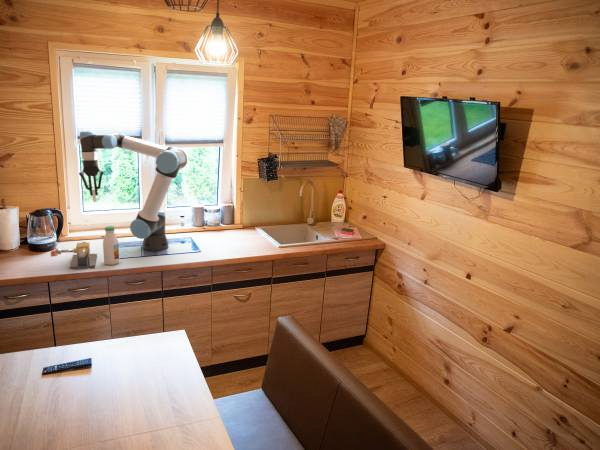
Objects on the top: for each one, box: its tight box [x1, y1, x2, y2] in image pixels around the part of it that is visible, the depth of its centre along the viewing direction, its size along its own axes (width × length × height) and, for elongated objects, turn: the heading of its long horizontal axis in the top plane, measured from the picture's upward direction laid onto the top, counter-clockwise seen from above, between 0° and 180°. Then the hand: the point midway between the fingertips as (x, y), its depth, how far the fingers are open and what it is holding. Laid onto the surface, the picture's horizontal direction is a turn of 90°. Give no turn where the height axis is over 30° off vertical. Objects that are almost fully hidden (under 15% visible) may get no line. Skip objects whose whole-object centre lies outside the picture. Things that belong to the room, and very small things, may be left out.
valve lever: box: [50, 248, 74, 258], centre depth 236 cm, size 8×3×18 cm
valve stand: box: [69, 241, 98, 270], centre depth 247 cm, size 12×19×10 cm, turn 20°
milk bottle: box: [102, 225, 120, 265], centre depth 248 cm, size 8×8×20 cm
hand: (94, 201), depth 263 cm, fingers closed
